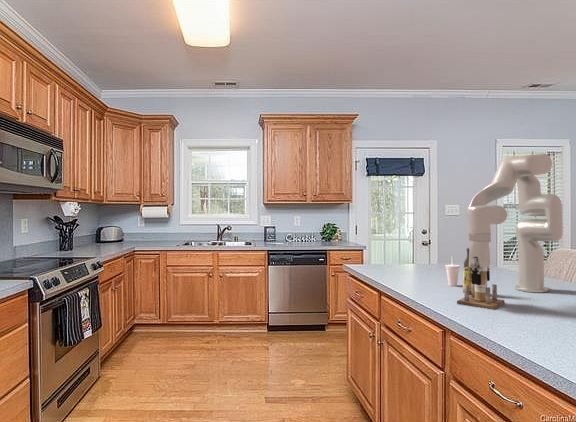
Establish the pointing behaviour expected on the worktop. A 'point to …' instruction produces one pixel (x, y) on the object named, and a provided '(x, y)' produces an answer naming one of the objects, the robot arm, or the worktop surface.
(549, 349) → the worktop surface
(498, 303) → the pin tray
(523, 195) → the robot arm
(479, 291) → the sprinkles bottle
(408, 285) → the worktop surface
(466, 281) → the sauce bottle
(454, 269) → the smoothie
